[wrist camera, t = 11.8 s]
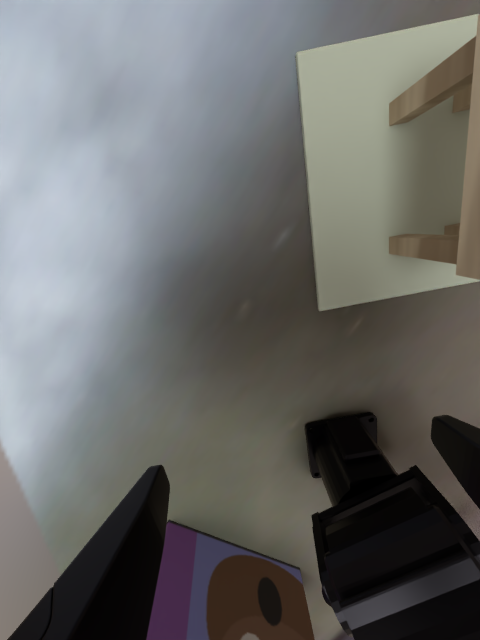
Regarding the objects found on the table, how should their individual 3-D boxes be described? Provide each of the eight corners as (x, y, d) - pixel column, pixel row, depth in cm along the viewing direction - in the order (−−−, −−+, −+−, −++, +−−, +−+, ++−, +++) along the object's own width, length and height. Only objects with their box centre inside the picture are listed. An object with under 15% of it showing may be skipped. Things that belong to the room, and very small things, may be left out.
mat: (520, 271, 20) (525, 272, 20) (318, 309, 21) (319, 311, 20) (567, -1, 15) (575, -7, 15) (295, 56, 16) (297, 52, 15)
